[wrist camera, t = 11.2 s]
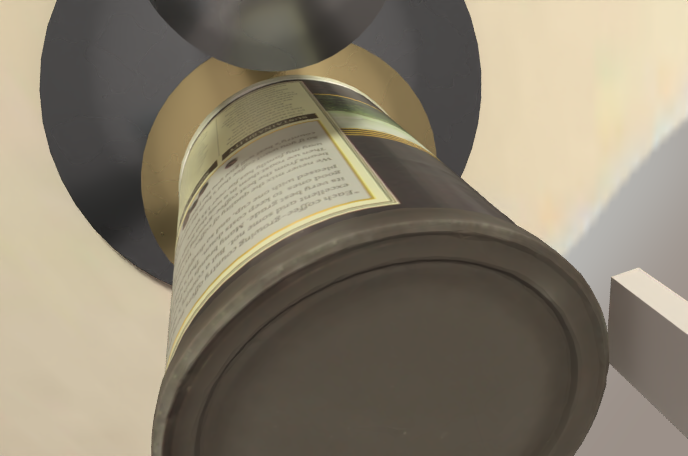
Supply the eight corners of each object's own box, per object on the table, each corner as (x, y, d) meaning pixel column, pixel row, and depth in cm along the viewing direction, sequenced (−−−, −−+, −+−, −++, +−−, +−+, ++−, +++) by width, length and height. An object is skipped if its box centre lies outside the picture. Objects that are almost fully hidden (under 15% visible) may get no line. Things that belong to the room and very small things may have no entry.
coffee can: (418, 68, 23) (669, 203, 11) (400, 278, 28) (561, 540, 15) (161, 72, 21) (109, 249, 9) (188, 301, 25) (179, 629, 13)
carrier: (148, 343, 27) (120, 587, 17) (-60, -95, 18) (-408, -151, 8) (483, 243, 29) (640, 405, 19) (452, -195, 20) (725, -345, 10)
